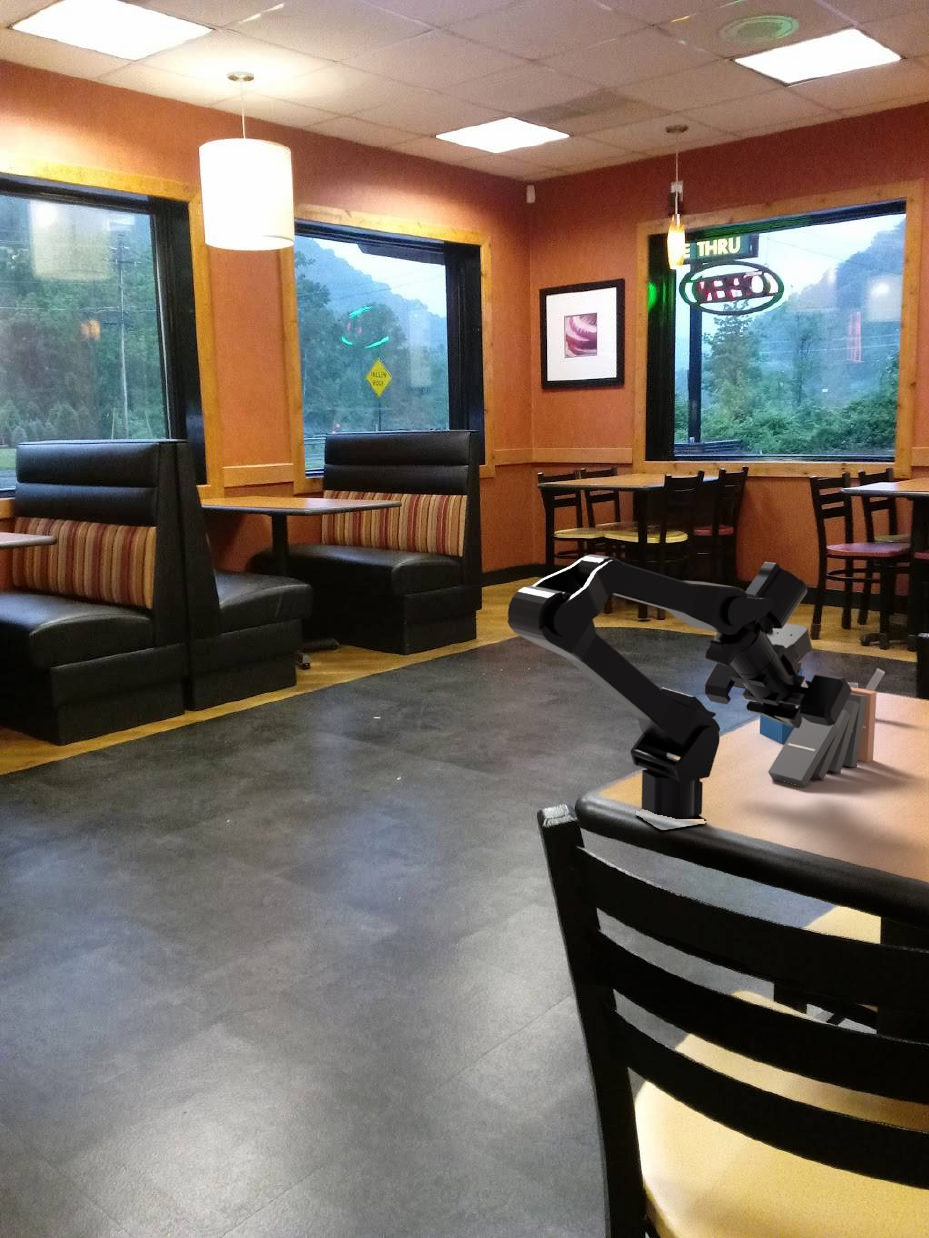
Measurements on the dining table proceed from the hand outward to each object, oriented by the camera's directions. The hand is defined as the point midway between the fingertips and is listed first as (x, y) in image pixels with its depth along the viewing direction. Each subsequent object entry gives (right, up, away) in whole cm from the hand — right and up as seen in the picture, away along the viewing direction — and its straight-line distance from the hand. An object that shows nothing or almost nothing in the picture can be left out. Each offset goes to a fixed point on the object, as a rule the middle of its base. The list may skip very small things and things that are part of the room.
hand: (797, 724), depth 142 cm
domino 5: (+12, -6, +11) cm, 17 cm away
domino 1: (-2, -7, 0) cm, 7 cm away
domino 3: (+5, -6, +5) cm, 10 cm away
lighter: (+21, -2, +34) cm, 40 cm away
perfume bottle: (+5, -4, +22) cm, 23 cm away
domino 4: (+8, -6, +8) cm, 13 cm away
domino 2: (+2, -7, +3) cm, 8 cm away
